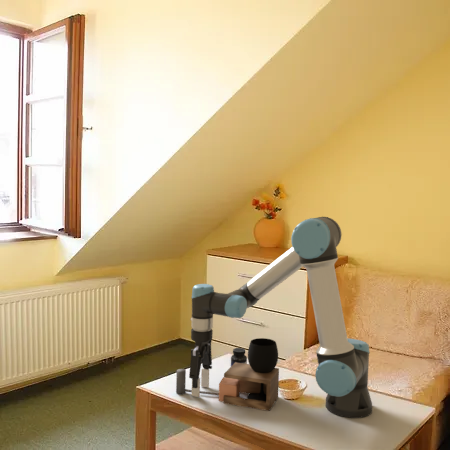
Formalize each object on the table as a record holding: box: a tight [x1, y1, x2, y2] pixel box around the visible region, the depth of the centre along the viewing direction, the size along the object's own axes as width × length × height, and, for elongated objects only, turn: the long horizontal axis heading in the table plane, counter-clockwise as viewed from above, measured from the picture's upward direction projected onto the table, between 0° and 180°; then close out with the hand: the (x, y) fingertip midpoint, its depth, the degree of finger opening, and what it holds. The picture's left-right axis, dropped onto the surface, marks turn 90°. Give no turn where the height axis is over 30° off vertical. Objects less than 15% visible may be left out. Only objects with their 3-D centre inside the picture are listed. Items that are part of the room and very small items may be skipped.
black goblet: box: [246, 337, 279, 403], centre depth 180 cm, size 10×10×20 cm
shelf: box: [222, 362, 280, 412], centre depth 179 cm, size 16×12×10 cm
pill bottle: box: [230, 347, 248, 367], centre depth 199 cm, size 6×6×11 cm
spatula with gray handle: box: [175, 368, 241, 402], centre depth 182 cm, size 22×6×8 cm, turn 77°
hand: (200, 391), depth 185 cm, fingers open, 8 cm apart
